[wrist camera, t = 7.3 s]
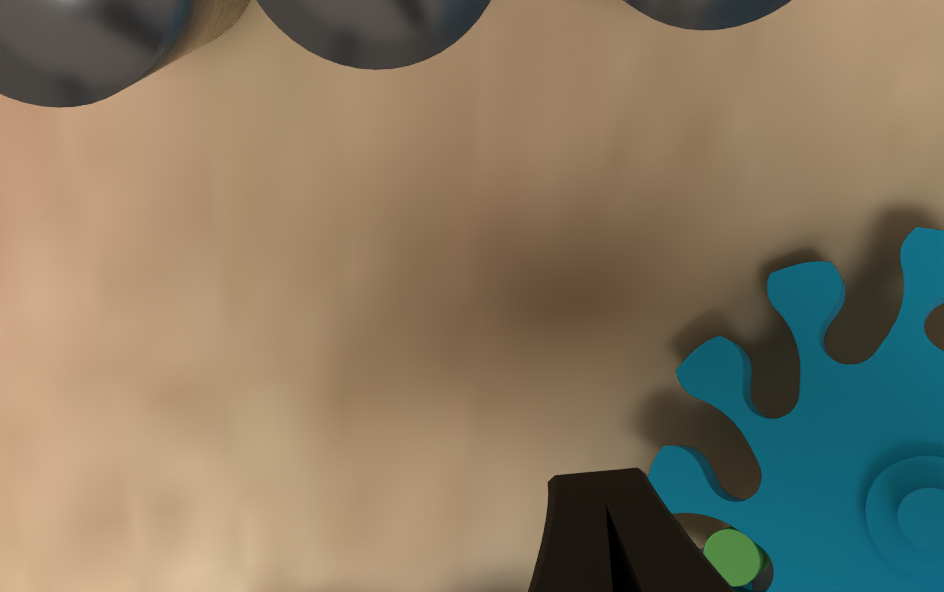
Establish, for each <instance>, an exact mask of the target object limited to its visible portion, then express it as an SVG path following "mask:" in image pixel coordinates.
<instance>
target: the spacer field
mask: <svg viewBox="0 0 944 592" xmlns="http://www.w3.org/2000/svg"><path fill="white" fill-rule="evenodd" d="M249 1H250V0H0V94H2V95H4V96H6V97H9V98H12V99H15V100H18V101H21V102H24V103H29V104H34V105H39V106H46V107H76V106H81V105H87V104H92V103H95V102H97V101H100V100H103V99H106V98H108V97H110V96H112V95H114V94H116V93H118V92H120V91H121V90H123V89H125V88H127V87H129V86H130V85H132V84H134V83H136V82H138V81H139V80H141V79H143V78H145V77H147V76H148V75H150V74H152V73H154V72H155V71H157V70H159V69H161V68H163V67H164V66H166V65H168V64H170V63H172V62H173V61H175V60H177V59H179V58H181V57H182V56H184V55H186V54H188V53H190V52H191V51H193V50H195V49H197V48H199V47H200V46H202V45H204V44H206V43H208V42H209V41H211V40H213V39H215V38H217V37H218V36H220V35H221V34H223V33H224V32H225V31H227V30H228V29H229V28H230V27H231V26H232V25H233V24H234V23H235V22H236V21H237V20H238V18H239V17H240V16H241V14H242V13H243V12H244V10H245V8H246V6H247V4H248V3H249ZM490 1H491V0H257V2H258V3H259V5H260V6H261V7H262V9H263V10H264V12H265V13H266V14H267V15H268V17H269V18H270V19H271V20H272V21H273V22H274V23H275V24H276V25H277V26H278V28H279V29H281V30H282V31H283V32H284V33H285V34H286V35H288V36H289V37H290V38H291V39H292V40H293V41H295V42H296V43H298V44H299V45H301V46H302V47H304V48H305V49H307V50H308V51H310V52H312V53H314V54H316V55H318V56H320V57H322V58H324V59H327V60H330V61H332V62H335V63H338V64H341V65H345V66H350V67H355V68H361V69H374V70H377V69H393V68H399V67H404V66H409V65H412V64H415V63H418V62H421V61H424V60H426V59H428V58H430V57H432V56H434V55H436V54H438V53H440V52H442V51H443V50H445V49H446V48H448V47H449V46H451V45H452V44H454V43H455V42H456V41H457V40H458V39H460V38H461V37H462V36H463V35H464V34H465V33H466V32H467V31H468V30H469V29H470V28H471V27H472V26H473V25H474V23H475V22H476V21H477V20H478V19H479V18H480V16H481V15H482V13H483V12H484V10H485V9H486V7H487V6H488V4H489V3H490ZM623 1H625V2H626V3H628V4H629V5H631V6H632V7H634V8H635V9H637V10H638V11H640V12H642V13H644V14H645V15H647V16H649V17H651V18H652V19H655V20H657V21H660V22H662V23H665V24H668V25H671V26H675V27H680V28H684V29H693V30H719V29H725V28H731V27H736V26H740V25H743V24H746V23H749V22H752V21H755V20H757V19H760V18H762V17H764V16H766V15H768V14H770V13H772V12H774V11H776V10H777V9H779V8H780V7H782V6H784V5H785V4H787V3H789V2H790V1H791V0H623Z"/></svg>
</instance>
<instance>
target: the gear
mask: <svg viewBox="0 0 944 592" xmlns="http://www.w3.org/2000/svg"><path fill="white" fill-rule="evenodd" d="M900 261H901V266H902V270H903V275H904V294H903V300H902V306H901V309H900V312H899V315H898V317H897V320H896V322H895V324H894V326H893V327H892V329H891V331H890V332H889V334H888V336H887V337H886V338H885V340H884V341H883V343H882V344H881V345H880V347H879V348H878V350H877V351H876V352H875V353H874V354H873V356H872V357H871V358H869V359H868V360H866V361H864V362H861V363H859V364H852V365H848V364H842V363H839V362H836V361H834V360H833V359H832V358H831V357H830V356H829V355H828V353H827V351H826V348H825V345H824V337H825V333H826V331H827V329H828V327H829V325H830V324H831V323H832V321H833V320H834V318H835V317H836V315H837V314H838V313H839V311H840V309H841V308H842V306H843V304H844V300H845V291H846V289H845V285H844V281H843V279H842V277H841V276H840V274H839V272H838V271H837V269H836V268H835V266H834V265H833V264H832V263H831V262H821V261H815V262H807V263H801V264H798V265H794V266H790V267H787V268H784V269H781V270H778V271H775V272H772V273H770V275H769V278H768V281H767V292H768V297H769V300H770V301H771V303H772V305H773V307H774V308H775V309H776V310H777V311H778V312H779V313H780V314H781V316H782V317H783V318H784V320H785V321H786V323H787V324H788V326H789V328H790V329H791V331H792V333H793V336H794V338H795V341H796V343H797V347H798V352H799V357H800V392H799V399H798V402H797V404H796V406H795V407H794V409H793V410H792V411H791V412H790V413H788V414H787V415H785V416H783V417H780V418H776V419H771V418H768V417H766V416H764V415H763V414H761V413H760V412H759V411H758V410H757V409H756V407H755V406H754V404H753V402H752V399H751V379H752V366H751V362H750V359H749V357H748V355H747V353H746V352H745V351H744V350H743V348H742V347H741V346H739V345H738V344H736V343H735V342H733V341H731V340H728V339H726V338H724V337H722V336H717V337H715V338H713V339H710V340H708V341H707V342H705V343H704V344H702V345H701V346H699V347H698V348H697V349H696V350H695V351H693V352H692V353H691V354H690V355H689V356H688V357H687V358H686V359H685V360H684V361H683V363H682V364H681V365H680V366H679V367H678V368H677V369H676V373H677V377H678V380H679V382H680V384H681V386H682V387H683V388H684V389H685V390H686V392H687V393H689V394H690V395H692V396H693V397H695V398H698V399H700V400H703V401H705V402H708V403H709V404H711V405H712V406H714V407H716V408H717V409H719V410H721V411H722V412H723V413H724V414H725V415H726V416H728V417H729V418H730V419H731V420H732V421H733V422H734V423H735V425H736V426H737V427H738V428H739V429H740V430H741V432H742V433H743V435H744V437H745V438H746V440H747V442H748V443H749V445H750V447H751V449H752V451H753V453H754V455H755V457H756V459H757V461H758V463H759V466H760V468H761V474H762V479H761V484H760V487H759V489H758V491H757V492H756V493H755V494H754V495H753V496H752V497H751V498H749V499H738V498H735V497H733V496H731V495H729V494H728V493H727V492H726V491H725V490H724V489H723V488H722V487H721V485H720V484H719V482H718V480H717V478H716V476H715V474H714V471H713V469H712V467H711V465H710V464H709V462H708V460H707V459H706V458H705V457H704V456H703V454H702V453H700V452H699V451H697V450H696V449H694V448H691V447H689V446H683V445H675V446H663V447H662V449H661V450H660V451H659V453H658V454H657V455H656V457H655V460H654V462H653V464H652V466H651V469H650V472H649V475H648V479H649V481H650V482H651V484H652V486H653V487H654V489H655V490H656V492H657V493H658V495H659V496H660V498H661V499H662V501H663V502H664V504H665V505H666V506H667V508H668V509H669V511H670V512H671V513H672V514H676V513H694V514H702V515H706V516H710V517H713V518H716V519H719V520H721V521H723V522H725V523H728V524H730V525H731V526H730V527H727V528H725V529H722V530H720V531H718V532H716V533H714V534H713V535H712V536H711V537H709V539H708V540H707V542H706V544H705V547H704V548H702V549H700V550H701V552H702V553H703V554H704V555H705V556H706V558H707V559H708V560H709V561H710V562H711V564H712V565H713V566H714V567H715V568H716V570H717V571H718V572H719V573H720V574H721V575H722V576H723V578H724V579H725V580H726V581H727V582H728V583H729V584H730V585H731V587H732V588H733V589H734V590H735V591H736V592H944V351H943V350H941V349H939V348H938V347H936V346H935V345H934V344H933V343H932V342H931V341H930V340H929V339H928V337H927V336H926V334H925V330H924V325H925V322H926V319H927V317H928V315H929V314H930V313H931V312H932V311H933V310H934V309H935V308H936V307H938V306H939V305H941V304H943V303H944V231H943V230H936V229H928V228H919V227H916V228H915V229H914V230H913V231H912V232H911V233H910V234H909V235H908V236H907V238H906V239H905V241H904V242H903V245H902V248H901V253H900Z"/></svg>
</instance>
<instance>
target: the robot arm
mask: <svg viewBox="0 0 944 592" xmlns="http://www.w3.org/2000/svg"><path fill="white" fill-rule="evenodd" d="M528 592H736V591H735V590H734V589H733V588H732V587H731V585H730V584H729V583H728V582H727V581H726V580H725V579H724V578H723V576H722V575H721V574H720V573H719V572H718V571H717V570H716V568H715V567H714V566H713V565H712V564H711V562H710V561H709V560H708V559H707V558H706V556H705V555H704V554H703V553H702V552H701V550H700V549H699V548H698V547H697V546H696V545H695V543H694V542H693V541H692V540H691V538H690V537H689V536H688V534H687V533H686V532H685V531H684V529H683V528H682V527H681V525H680V524H679V523H678V521H677V520H676V519H675V517H674V516H673V515H672V513H671V512H670V511H669V509H668V508H667V506H666V505H665V504H664V502H663V501H662V499H661V498H660V496H659V495H658V493H657V492H656V490H655V489H654V487H653V486H652V484H651V482H650V481H649V479H648V477H647V476H646V474H645V473H644V472H642V471H641V470H640V469H639V468H630V469H619V470H608V471H597V472H586V473H575V474H564V475H555V476H554V477H553V478H552V479H551V480H550V481H549V482H548V507H547V515H546V522H545V527H544V532H543V537H542V542H541V546H540V550H539V554H538V558H537V561H536V565H535V569H534V573H533V577H532V580H531V583H530V587H529V590H528Z"/></svg>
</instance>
